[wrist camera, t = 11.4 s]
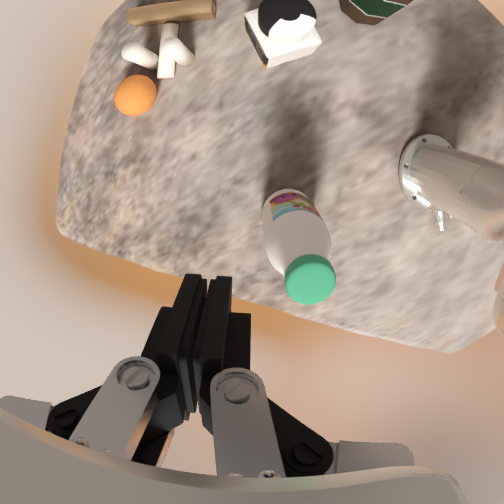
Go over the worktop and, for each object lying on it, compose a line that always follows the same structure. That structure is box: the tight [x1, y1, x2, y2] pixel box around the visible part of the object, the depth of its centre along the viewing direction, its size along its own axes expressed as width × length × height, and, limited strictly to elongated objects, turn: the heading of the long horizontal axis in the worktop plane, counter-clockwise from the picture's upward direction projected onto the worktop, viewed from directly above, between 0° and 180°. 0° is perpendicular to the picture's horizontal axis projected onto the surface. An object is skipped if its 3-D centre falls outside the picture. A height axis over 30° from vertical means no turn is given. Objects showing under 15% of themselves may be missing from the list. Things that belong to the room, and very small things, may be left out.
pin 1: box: [122, 42, 159, 70], centre depth 28 cm, size 2×2×8 cm
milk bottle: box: [262, 189, 336, 304], centre depth 33 cm, size 8×8×20 cm
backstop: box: [126, 0, 216, 27], centre depth 27 cm, size 2×12×4 cm, turn 86°
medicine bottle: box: [244, 0, 322, 68], centre depth 25 cm, size 7×7×12 cm
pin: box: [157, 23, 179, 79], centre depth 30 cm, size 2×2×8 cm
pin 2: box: [160, 37, 195, 67], centre depth 28 cm, size 2×2×8 cm
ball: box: [114, 75, 157, 116], centre depth 31 cm, size 6×6×6 cm
